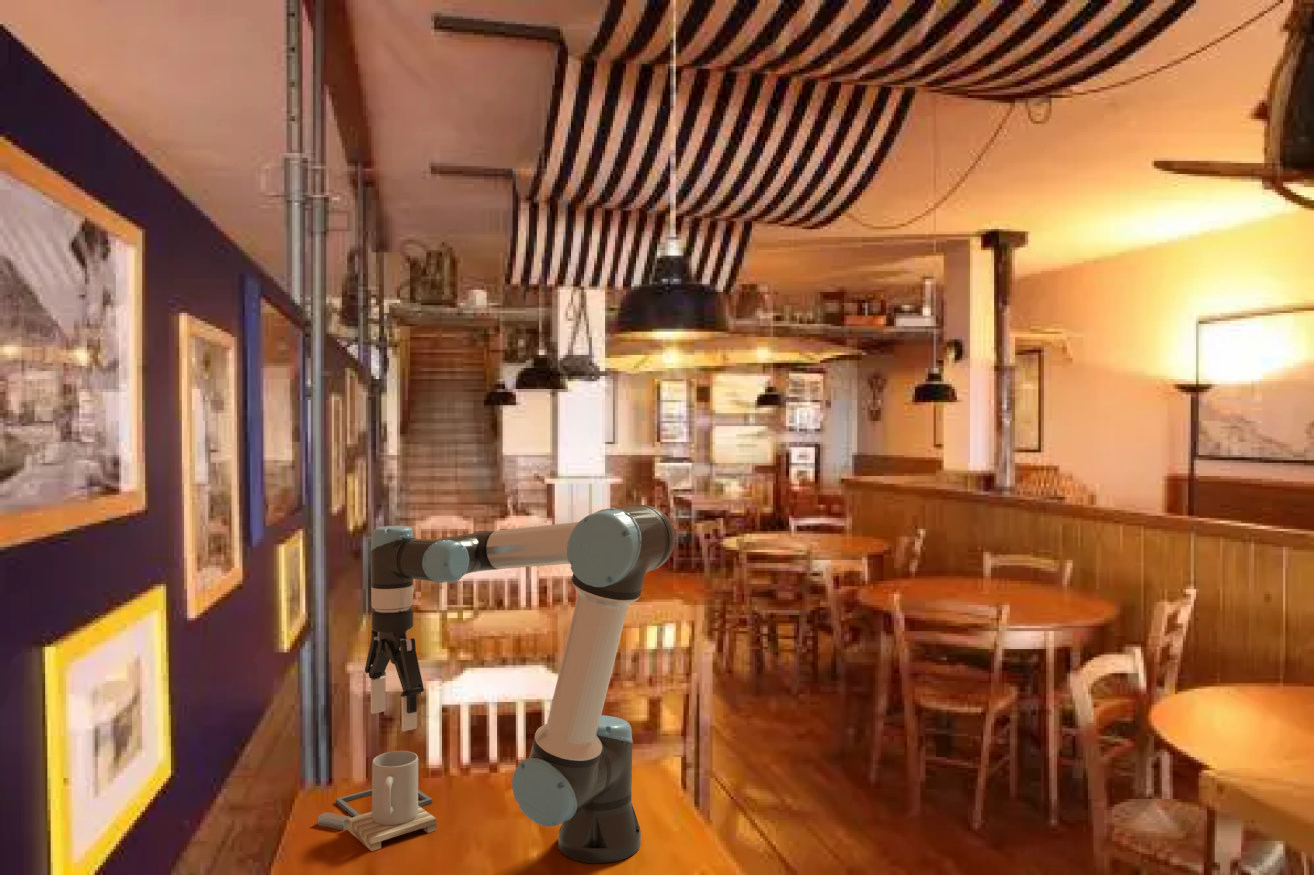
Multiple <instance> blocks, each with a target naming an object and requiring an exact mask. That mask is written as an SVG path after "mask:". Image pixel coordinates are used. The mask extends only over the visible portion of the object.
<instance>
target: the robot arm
mask: <svg viewBox="0 0 1314 875" xmlns="http://www.w3.org/2000/svg"><path fill="white" fill-rule="evenodd" d="M675 533H676V532H675V530H674V526H673V524H672V522H671V520H670V519H669V517H668V516H667V515H666V513H664V512H663V511H661V510H660V509H659V508H657V507H656V506H655V507H654V506H652V505H647V504H636V505H635V504H634V505H630V506H624V507H618V508H617V507H616V508H615V507H612V508H605V509H600V510H598V511H596V512H593V513H590V514H588V515H587V516H585V517H583V518H582V519H580V520H579V521H574V522H567V523H557V524H556V523H555V524H547V525H537V526H528V527H527V526H526V527H518V528H517V527H516V528H508V529H497V530H483V531H482V530H481V531H477V532H474V533H467V534H462V535H455V536H449V537H442V538H441V537H440V538H437V539H436V538H434V539H430V538H429V539H428V538H427V539H426V538H415V536H414V531H413V528H412V527H410V526H408V525H386V526H378V527H376V528H375V529H373V531H372V533H371V535H372V536H371V543H370V544H371V547H370V555H371V588H370V589H371V591H370V592H371V593H370V594H371V596H370V597H371V600H370V601H371V608H372V609H373V610H372V612H371V628H372V629H371V639H370V644H369V649H368V654H367V657H366V662H365V666H364V673H365V674H368V677H369V679H370V714H371V715H373V714H378V713H382V712H383V713H384V712H386V711H387V710H386V708H387V705H386V703H387V701H386V700H387V699H386V698H387V697H386V695H387V694H386V693H387V692H386V690H387V689H386V676H387V673H386V669H387V667H388V664H389V662H391V663H392V665H394V666H395V669H396V674H397V677H398V679H399V683H400V685H401V687H402V688H401V689H402V692H401V693H400V698H401V732H407V731H412V730H415V729H418V694H420V693H424V690H425V688H424V684H423V678H422V674H421V670H420V664H419V661H418V656H417V655H418V654H417V651H416V650H417V649H416V640H415V638H414V637H413V638H407V631H408V630H411V629H413V627H414V609H413V607H412V606H413V605H414V593H415V588H414V587H413V586H414V580H417V581H418V580H419V581H426V582H427V581H429V582H437V583H438V584H439V583H440V584H443V583H456V582H458V581H460V580H461V579H462V578H463V576H465V575H467V574H472V573H477V572H483V571H484V572H485V571H495V570H496V571H497V570H503V569H504V570H505V569H515V568H518V569H520V568H531V567H543V566H545V567H546V566H558V565H569V564H570V570H571V571H572V578H571V584H572V586H573V588H574V589H575V590H576V592H577V596H576V600H575V604H574V609H573V614H572V618H571V620H570V621H571V622H570V626H569V630H568V634H567V637H566V643H565V647H564V651H563V653H562V654H563V655H562V659H561V664H560V668H559V670H558V675H557V680H556V684H555V688H554V692H553V697H552V702H551V704H550V710H549V714H548V717H547V722H546V723H545V724H543V725H541V726H540V727H538V728H537V729H536V732H535V733H534V738H533V741H532V746H531V750H530V754H529V757H528V758H525V759H524V760H522V761H521V762H520V763H519V765H518V766H517V767H516V768H515V770H514V772H513V775H512V779H511V780H512V781H511V785H512V786H511V788H512V793H513V797H514V799H515V801H516V803H517V805H518V806H519V809H520V811H521V813H523V815H524V816H526V817H527V818H528V819H529V820H530V821H531V822H533V823H535V824H537V825H539V826H543V827H549V828H550V827H551V828H552V827H556V826H558V825H559V826H560V825H561V826H560V827H559V830H558V836H557V837H558V841H557V843H558V846H557V847H558V849H559V851H560V853H562V854H563V855H564V856H565V857H567V858H569V859H571V860H573V861H577V862H581V863H587V864H609V863H615V862H618V861H622V860H624V859H627V858H630V857H631V856H633V855H634V854H636V853H637V852H638V851H639V849H640V848H641V844H642V840H641V839H642V838H641V836H642V835H641V833H642V832H641V827H640V825H639V820H638V817H637V815H636V810H635V808H634V806H633V805H634V804H633V801H632V798H633V797H632V793H633V792H632V787H633V786H632V785H633V783H632V781H633V744H634V740H633V736H632V735H633V734H632V733H633V732H632V726H631V724H630V723H629V722H628V721H627V720H625V719H623V718H620V717H616V716H612V715H611V716H610V715H603V714H602V713H603V709H604V705H605V702H606V701H605V700H606V697H607V693H608V689H609V686H610V682H611V677H612V672H613V670H614V665H615V662H616V657H617V654H618V649H619V644H620V640H621V636H622V633H623V630H624V629H623V628H624V624H625V620H626V616H627V612H628V608H629V606H630V605H631V604H633V603H635V602H636V601H638V600H639V599H640V598H641V594H642V589H643V586H644V581H645V578H646V574H647V573H649V572H652V571H654V570H656V569H659V568H660V567H661V566H662V565H664V564H665V563H666V562H667V561H668V560H669V559H670V556H671V554H672V553H673V550H674V548H675V542H676V534H675Z"/></svg>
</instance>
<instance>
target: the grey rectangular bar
mask: <svg viewBox="0 0 1314 875" xmlns="http://www.w3.org/2000/svg"><path fill="white" fill-rule="evenodd" d="M351 817H352V816H350V815H348V816H347V815H343V814H337V813H334V812H328V811H327V812H326V811H325V812H322V813H321V814H319V815H318V816H317V825H318V826H320V827H326V828H331V829H335V830H341V831H345V830H347V829H346V828H347V824H348V818H351Z"/></svg>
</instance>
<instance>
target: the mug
mask: <svg viewBox="0 0 1314 875" xmlns="http://www.w3.org/2000/svg"><path fill="white" fill-rule="evenodd" d="M371 776H372V777H371V789H372V794H371V812H372V820H373V821H374V822H375V823H377V824H380V825H387V826H391V825H399V824H404V823H407V822H409V821H411V820H413V819H414V818H416V816H417V815H418V801H419V797H418V790H419V756H418V755H417V753H415V752H413V751H408V750H395V751H388V752H384V753H381V754H379V755H377V756H375V757H373V759H372V765H371Z"/></svg>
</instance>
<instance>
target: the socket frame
mask: <svg viewBox="0 0 1314 875" xmlns="http://www.w3.org/2000/svg"><path fill="white" fill-rule="evenodd" d="M370 795H371V796H372V788H371V789H367V790H363V791H360V792H357V793H356V792H355V793H352V794H348V795H345V796H341V797H338V798H335V803H336V805H338V806H339V807H340V808H342V809H343V810H344V811H345V812H346V811H347V812H348V813H347V812H346V813H347V814H349V816H350V817H352V816H353V817H355V816H358V815H361V814H360V813H359V812H358V811H357V810H355V809H354V808H353V807H352V806H351V805H349V804H348V803H347V802H350V801H353V799H354V800H356V799H355V798H357V799H360V797H361V798H364V797H366V796H370ZM418 799H421V800H418V806H420V807H421V808H422V807H424V806H428V805H431V804H433V798H431V797H430V796H428V795H427V794H425V793H424V792H423V791H421V790H420V789H418ZM349 800H350V801H349Z"/></svg>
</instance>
